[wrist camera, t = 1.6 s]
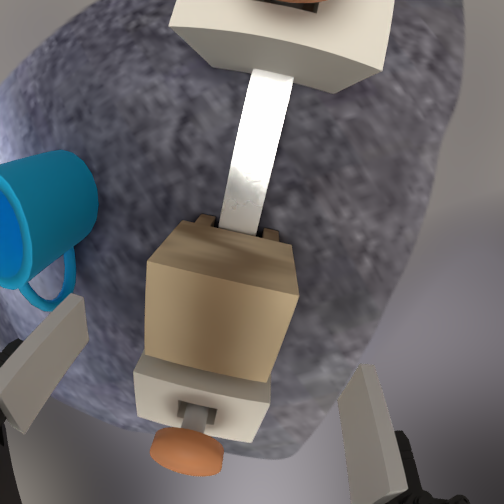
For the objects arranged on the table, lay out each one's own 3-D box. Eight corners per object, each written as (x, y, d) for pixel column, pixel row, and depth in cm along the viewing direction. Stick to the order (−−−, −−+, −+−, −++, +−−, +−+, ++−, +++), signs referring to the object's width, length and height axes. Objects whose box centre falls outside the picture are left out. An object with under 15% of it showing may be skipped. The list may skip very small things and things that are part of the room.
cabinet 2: (208, 66, 17) (161, 26, 8) (225, 4, 15) (195, -65, 6) (333, 94, 17) (382, 70, 9) (348, 30, 15) (397, -25, 7)
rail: (207, 300, 23) (202, 315, 22) (254, 74, 17) (253, 68, 15) (237, 307, 24) (234, 322, 22) (291, 82, 17) (294, 77, 15)
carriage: (180, 285, 23) (144, 354, 15) (190, 211, 20) (147, 260, 13) (268, 305, 23) (266, 382, 16) (289, 233, 21) (299, 295, 13)
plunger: (170, 404, 18) (151, 465, 14) (172, 369, 17) (147, 437, 12) (226, 417, 19) (216, 480, 14) (236, 384, 17) (226, 456, 12)
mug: (21, 163, 20) (-46, 187, 12) (87, 137, 19) (11, 152, 11) (56, 284, 24) (6, 332, 17) (122, 280, 23) (74, 340, 16)
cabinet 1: (166, 337, 25) (133, 414, 17) (170, 291, 23) (128, 369, 15) (257, 358, 26) (251, 442, 17) (271, 314, 24) (270, 403, 15)
